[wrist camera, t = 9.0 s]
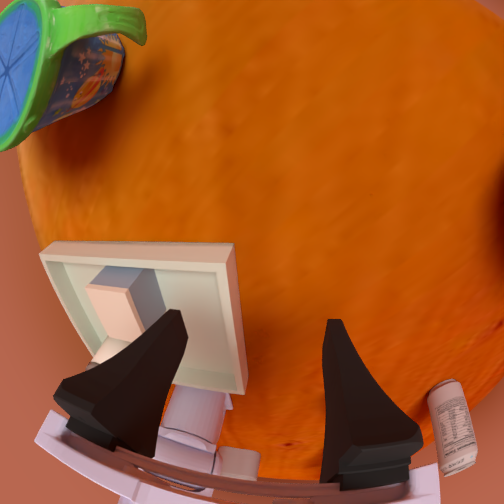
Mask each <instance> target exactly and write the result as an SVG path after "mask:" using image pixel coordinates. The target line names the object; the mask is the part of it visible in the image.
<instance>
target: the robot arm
mask: <svg viewBox="0 0 504 504" xmlns="http://www.w3.org/2000/svg"><path fill="white" fill-rule="evenodd" d="M188 338H189V337H188V334H187V330H186V327H185V324H184V321H183V317H182V314H181V311H180V310H176V309H169V310H168V311H167V312H165V313H164V314H163V315H162V316H161V317H160V318H159V319H158V320H157V321H156V322H155V323H154V324H153V325H151V326H150V327H149V328H148V329H147V330H146V331H145V332H144V333H143V334H141V335H140V336H139V337H138V338H137V339H135V340H134V341H133V342H132V343H131V344H129V345H128V346H127V347H126V348H124V349H123V350H121V351H120V352H119V353H117V354H116V355H114V356H113V357H111V358H109V359H108V360H106V361H104V362H102V363H101V364H99V365H97V366H95V367H93V368H91V369H89V370H87V371H85V372H82V373H80V374H77V375H75V376H72V377H69V378H66V379H63V381H62V382H61V384H60V385H59V387H58V389H57V390H56V392H55V394H54V395H53V397H54V400H55V401H56V402H57V404H58V405H59V406H60V407H61V408H63V409H64V410H65V411H66V412H67V413H68V414H69V415H70V418H69V420H68V419H67V418H65V417H64V416H62V415H60V414H59V413H57V412H55V411H54V410H50V412H49V414H48V416H47V417H46V419H45V421H44V423H43V425H42V427H41V428H40V431H39V432H38V435H37V436H36V438H35V440H34V441H35V443H37V444H38V445H39V446H41V447H42V448H43V449H45V450H46V451H47V452H49V453H50V454H52V455H53V456H54V457H56V458H57V459H59V460H60V461H62V462H63V463H65V464H66V465H68V466H69V467H71V468H72V469H74V470H75V471H77V472H78V473H80V474H82V475H83V476H85V477H87V478H89V479H90V480H92V481H94V482H96V483H97V484H99V485H101V486H103V487H105V488H107V489H109V490H111V491H113V492H115V493H117V494H119V495H121V496H120V499H119V502H118V504H245V503H238V502H232V501H227V500H222V499H217V498H212V493H213V490H214V489H216V490H221V491H227V492H233V493H241V494H247V495H257V496H267V497H268V496H269V497H284V498H310V499H275V500H273V504H441V503H440V486H439V474H438V465H437V463H436V462H435V463H432V464H428V465H424V466H420V467H416V468H414V469H411V470H409V468H408V465H409V464H411V457H410V456H412V455H413V454H415V453H416V452H417V451H419V450H420V449H421V448H422V447H423V437H422V433H421V430H420V427H419V425H418V424H417V423H415V422H414V421H413V420H412V419H411V418H409V417H408V416H407V415H406V414H405V413H404V412H403V411H402V410H401V409H400V408H399V407H398V406H397V405H396V404H395V403H394V402H393V401H392V400H391V399H390V398H389V397H388V396H387V395H386V393H385V392H384V391H383V390H382V389H381V387H380V386H379V385H378V384H377V382H376V381H375V379H374V378H373V377H372V375H371V374H370V372H369V371H368V369H367V368H366V366H365V365H364V363H363V361H362V360H361V358H360V356H359V355H358V353H357V351H356V349H355V347H354V345H353V343H352V342H351V340H350V337H349V335H348V333H347V331H346V329H345V326H344V324H343V322H342V320H341V319H328V320H327V326H326V331H325V337H324V342H323V348H322V368H323V378H324V389H325V401H326V422H325V439H324V450H323V460H322V468H321V475H320V483H319V484H291V483H272V482H259V481H251V480H243V479H236V478H229V477H223V476H220V474H221V469H222V462H223V460H222V457H221V455H220V453H219V452H217V451H215V450H216V445H215V444H216V443H217V442H218V440H219V437H220V433H221V429H222V425H223V421H224V416H225V412H226V409H228V410H232V409H233V405H232V401H231V397H230V393H224V392H217V391H211V390H204V389H198V388H193V387H187V386H182V385H177V384H176V386H175V389H174V391H173V394H172V396H171V399H170V402H169V404H168V407H167V409H166V412H165V415H164V417H163V420H162V423H161V425H160V421H161V417H162V413H163V409H164V405H165V401H166V398H167V394H168V392H169V389H170V386H171V384H172V382H173V379H174V377H175V375H176V372H177V370H178V368H179V365H180V363H181V360H182V358H183V356H184V353H185V349H186V345H187V342H188ZM157 477H159V478H162V479H165V480H168V481H171V482H174V483H177V484H180V485H183V486H187V487H190V488H194V489H196V490H185V489H182V488H179V487H176V486H172V485H170V484H169V483H167V482H164V481H162V480H160V479H158V478H157Z"/></svg>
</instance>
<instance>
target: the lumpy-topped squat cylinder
mask: <svg viewBox="0 0 504 504" xmlns="http://www.w3.org/2000/svg"><path fill="white" fill-rule="evenodd" d="M218 452H219V453H220V455H221V457H222V460H223V462H222V469H221V474H220V476H223V477H229V478H236V479H243V480H251V481H256V480H257V475H258V469H259V463H260V457H261V456H260V453H258V452H256V451H252V450H245V449H238V448H233V447H227V446H222V447H219V449H218Z"/></svg>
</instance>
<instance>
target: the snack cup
mask: <svg viewBox="0 0 504 504" xmlns="http://www.w3.org/2000/svg"><path fill="white" fill-rule="evenodd" d="M117 33H121V34H123V35H125V36H126V37H128V38H130V39H131V40H133V41H134V42H136V43H137V44H139V45H141V46H143V45H145V43H146V40H147V32H146V21H145V17H144V14H143V12H142V11H141V10H140V9H139V8H135V7H124V6H113V5H103V4H89V5H75V6H68V7H64V6H61V5H60V4H59V2H58V1H57V0H14V1H13V2H11V3H10V4H9V5H8V6H7V7H6V8H5V9H4V10H3V11H2V12H1V14H0V152H2V151H6V150H8V149H11V148H13V147H15V146H17V145H19V144H20V143H21V142H22V141H24V140H25V139H26V138H27V137H28V136H29V135H30V134H31V133H32V132H34V131H37V130H39V129H41V128H43V127H45V126H48V125H50V124H52V123H54V122H56V121H58V120H61V119H63V118H65V117H68V116H70V115H73V114H75V113H78V112H80V111H83V110H85V109H87V108H89V107H91V106H93V105H95V104H96V103H98V102H99V101H100V100H102V99H103V98H105V97H106V96H107V95H108V94H109V93H111V92H112V90H113V85H114V84H115V82H116V80H117V78H118V76H119V73H120V70H121V67H122V63H123V58H124V55H125V53H124V48H123V46H122V44H121V41H120V39H119V37H118V35H117Z"/></svg>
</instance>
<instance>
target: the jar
mask: <svg viewBox="0 0 504 504" xmlns="http://www.w3.org/2000/svg"><path fill="white" fill-rule="evenodd" d="M131 343H132V342H129V341H124V340H120V339H116V338H111V337H109V336H107V337H106V339H105V340H104V342H103V343H102V345H101V346H100V348H99V349H98V351H97V353H96V354H95V356H94V357H93V359H92V361H91V362H89V364H88V365H87V367H86V371H87V370H89V369H91V368H93V367H95V366H97V365H99V364H101V363H102V362H104V361H106V360H108V359H109V358H111V357H113V356H114V355H116V354H117V353H119V352H120V351H121V350H123V349H124V348H126V347H127V346H128V345H129V344H131Z"/></svg>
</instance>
